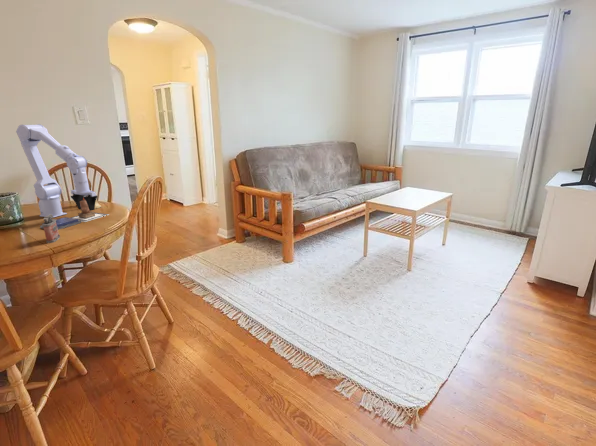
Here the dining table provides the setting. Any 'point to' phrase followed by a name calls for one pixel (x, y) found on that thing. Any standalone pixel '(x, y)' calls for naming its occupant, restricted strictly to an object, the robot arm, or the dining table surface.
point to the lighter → (50, 229)
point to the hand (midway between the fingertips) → (86, 209)
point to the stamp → (85, 210)
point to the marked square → (97, 215)
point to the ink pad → (65, 222)
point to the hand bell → (96, 200)
